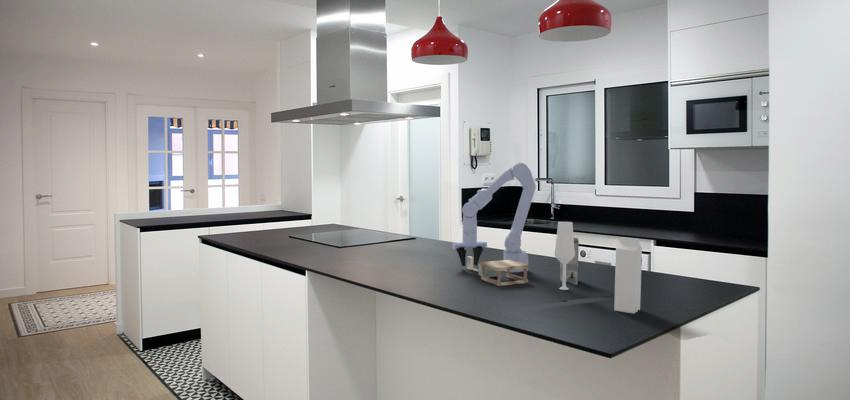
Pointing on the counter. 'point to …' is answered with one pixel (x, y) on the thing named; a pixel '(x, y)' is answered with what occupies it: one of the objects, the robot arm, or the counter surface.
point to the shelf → (498, 282)
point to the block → (480, 268)
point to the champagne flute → (564, 247)
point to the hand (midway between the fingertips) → (469, 265)
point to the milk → (628, 275)
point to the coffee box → (571, 266)
